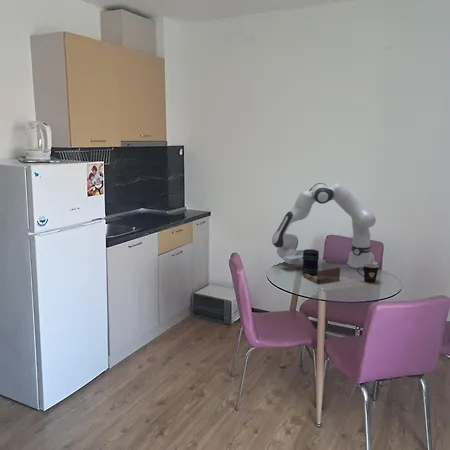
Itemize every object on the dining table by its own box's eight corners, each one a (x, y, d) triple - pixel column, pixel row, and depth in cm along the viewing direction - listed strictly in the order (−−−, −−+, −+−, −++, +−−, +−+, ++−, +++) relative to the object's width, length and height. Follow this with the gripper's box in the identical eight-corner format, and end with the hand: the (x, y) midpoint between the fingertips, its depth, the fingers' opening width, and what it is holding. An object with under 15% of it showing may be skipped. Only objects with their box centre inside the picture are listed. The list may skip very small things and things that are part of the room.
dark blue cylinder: (311, 277, 278) (312, 254, 275) (298, 273, 286) (299, 250, 283) (321, 274, 285) (322, 251, 282) (309, 270, 292) (310, 248, 289)
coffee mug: (378, 280, 273) (380, 264, 271) (375, 284, 266) (376, 268, 264) (359, 277, 279) (361, 261, 277) (355, 281, 272) (356, 265, 270)
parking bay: (303, 277, 278) (304, 264, 277) (324, 273, 286) (324, 261, 284) (318, 284, 266) (318, 271, 264) (339, 280, 273) (340, 267, 272)
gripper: (281, 253, 295) (293, 258, 283) (306, 250, 304) (319, 255, 292) (280, 262, 296) (292, 268, 284) (305, 259, 305) (318, 264, 293)
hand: (306, 261), depth 288 cm, fingers closed
